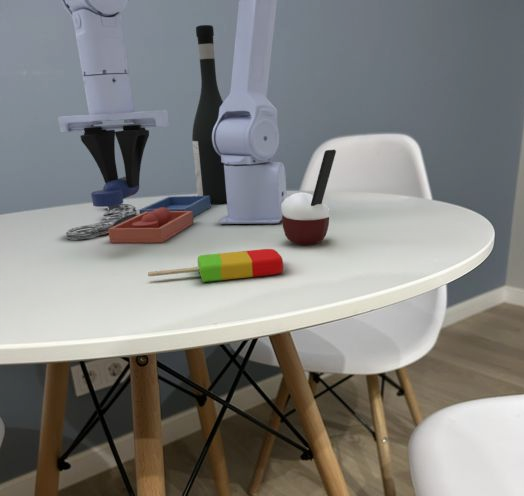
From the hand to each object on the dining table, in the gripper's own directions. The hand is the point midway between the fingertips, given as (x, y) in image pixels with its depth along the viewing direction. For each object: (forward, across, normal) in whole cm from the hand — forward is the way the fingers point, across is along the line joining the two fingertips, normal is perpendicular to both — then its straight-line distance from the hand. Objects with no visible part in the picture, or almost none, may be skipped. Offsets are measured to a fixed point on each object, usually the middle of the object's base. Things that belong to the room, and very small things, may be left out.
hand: (123, 187), depth 78 cm
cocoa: (+8, +25, +2) cm, 26 cm away
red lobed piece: (+8, 0, +9) cm, 12 cm away
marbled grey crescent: (+8, -12, +18) cm, 23 cm away
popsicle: (+8, +16, -13) cm, 23 cm away
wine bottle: (+8, +2, +36) cm, 37 cm away
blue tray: (+8, -2, +24) cm, 25 cm away
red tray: (+8, 0, +9) cm, 12 cm away
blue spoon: (+1, 0, -2) cm, 2 cm away
